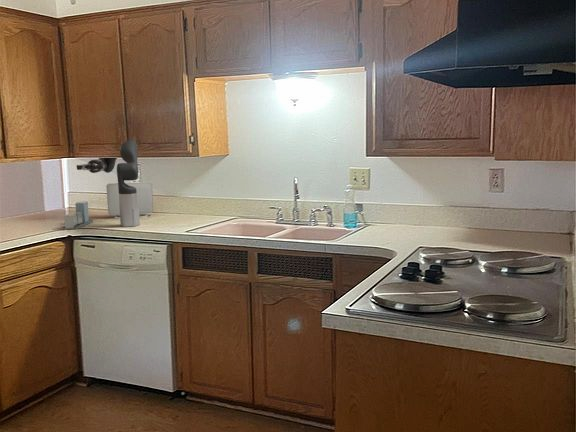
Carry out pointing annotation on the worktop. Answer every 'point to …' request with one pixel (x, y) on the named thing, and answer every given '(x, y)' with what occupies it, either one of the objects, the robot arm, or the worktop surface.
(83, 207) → the block
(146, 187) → the network device
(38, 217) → the worktop surface
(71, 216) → the rail
